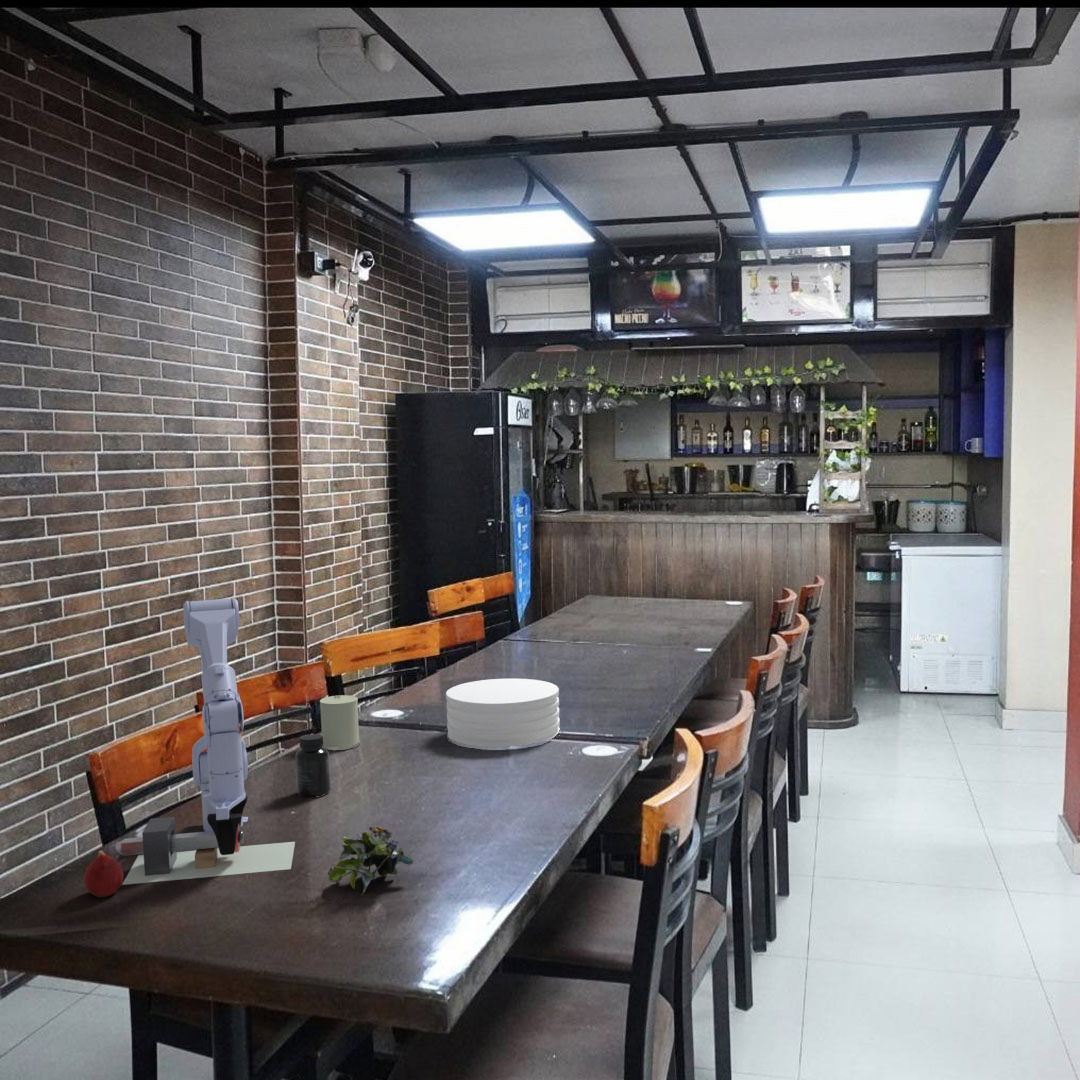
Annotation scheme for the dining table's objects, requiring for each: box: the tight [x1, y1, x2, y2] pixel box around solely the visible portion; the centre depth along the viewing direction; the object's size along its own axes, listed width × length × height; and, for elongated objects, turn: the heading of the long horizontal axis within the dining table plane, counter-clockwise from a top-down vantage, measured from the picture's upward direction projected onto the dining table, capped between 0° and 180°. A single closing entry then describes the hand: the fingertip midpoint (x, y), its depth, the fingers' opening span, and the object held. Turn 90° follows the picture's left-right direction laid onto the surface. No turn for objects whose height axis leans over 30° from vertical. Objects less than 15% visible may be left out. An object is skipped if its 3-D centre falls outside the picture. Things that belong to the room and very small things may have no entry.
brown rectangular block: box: [195, 847, 218, 869], centre depth 181 cm, size 5×3×2 cm, turn 10°
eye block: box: [141, 816, 178, 876], centre depth 180 cm, size 7×4×7 cm, turn 10°
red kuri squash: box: [83, 850, 124, 898], centre depth 169 cm, size 6×6×8 cm
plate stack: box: [445, 678, 561, 747], centre depth 262 cm, size 28×28×12 cm
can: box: [319, 694, 360, 747], centre depth 257 cm, size 9×9×12 cm
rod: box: [115, 824, 245, 857], centre depth 180 cm, size 5×21×5 cm, turn 100°
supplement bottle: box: [294, 733, 331, 798], centre depth 220 cm, size 7×7×12 cm
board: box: [121, 841, 296, 886], centre depth 181 cm, size 13×27×1 cm, turn 100°
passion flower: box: [327, 825, 414, 897], centre depth 171 cm, size 11×11×12 cm
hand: (230, 846), depth 182 cm, fingers open, 6 cm apart
